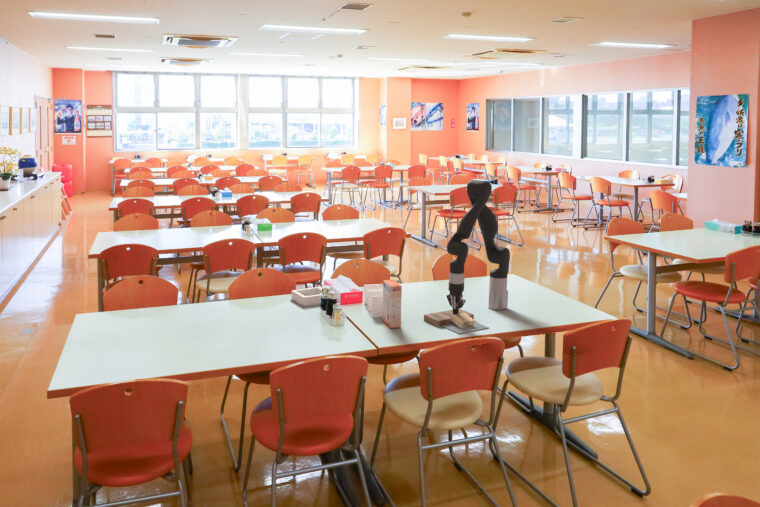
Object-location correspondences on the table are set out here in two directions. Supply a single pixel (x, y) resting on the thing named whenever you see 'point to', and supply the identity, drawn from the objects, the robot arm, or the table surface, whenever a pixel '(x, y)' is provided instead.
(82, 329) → the table surface
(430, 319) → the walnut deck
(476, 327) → the rubber mat
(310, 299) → the holder corral
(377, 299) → the storage container
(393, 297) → the cracker box
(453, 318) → the maple tile
